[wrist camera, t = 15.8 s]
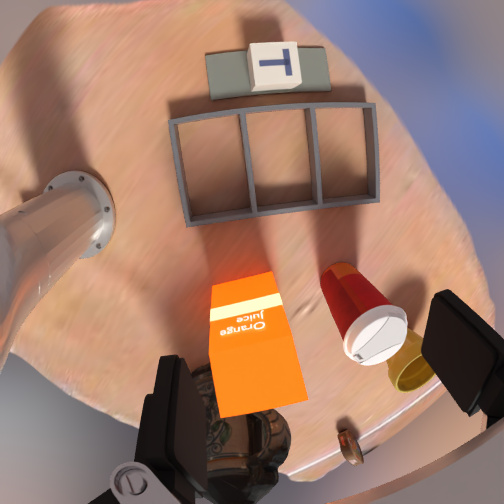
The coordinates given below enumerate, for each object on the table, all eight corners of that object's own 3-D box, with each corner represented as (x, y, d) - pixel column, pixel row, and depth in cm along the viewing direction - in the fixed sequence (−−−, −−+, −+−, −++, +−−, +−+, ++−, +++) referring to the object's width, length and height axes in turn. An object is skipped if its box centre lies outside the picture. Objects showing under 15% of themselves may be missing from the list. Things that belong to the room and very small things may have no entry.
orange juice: (281, 313, 45) (312, 419, 27) (226, 326, 45) (230, 436, 27) (271, 269, 42) (305, 373, 24) (211, 284, 42) (205, 394, 24)
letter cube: (246, 54, 30) (249, 43, 25) (287, 52, 30) (296, 41, 25) (251, 91, 32) (255, 85, 27) (292, 88, 32) (302, 82, 27)
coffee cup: (329, 311, 46) (364, 378, 32) (302, 278, 43) (334, 345, 29) (372, 280, 44) (419, 338, 30) (348, 243, 41) (399, 297, 27)
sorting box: (188, 221, 38) (186, 227, 36) (171, 120, 33) (167, 120, 30) (371, 197, 39) (379, 202, 36) (366, 104, 34) (375, 102, 31)
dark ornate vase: (181, 409, 53) (174, 519, 30) (185, 341, 46) (169, 483, 23) (261, 415, 55) (277, 521, 32) (284, 350, 48) (318, 483, 25)
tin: (359, 442, 66) (367, 465, 59) (349, 447, 67) (357, 470, 59) (344, 424, 61) (353, 451, 53) (332, 430, 61) (341, 456, 53)
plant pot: (427, 319, 49) (453, 349, 40) (404, 359, 53) (425, 391, 44) (388, 316, 48) (414, 350, 39) (365, 359, 51) (384, 395, 42)
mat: (211, 100, 32) (211, 100, 32) (205, 56, 30) (205, 55, 29) (330, 91, 33) (331, 90, 32) (324, 49, 30) (325, 48, 30)
